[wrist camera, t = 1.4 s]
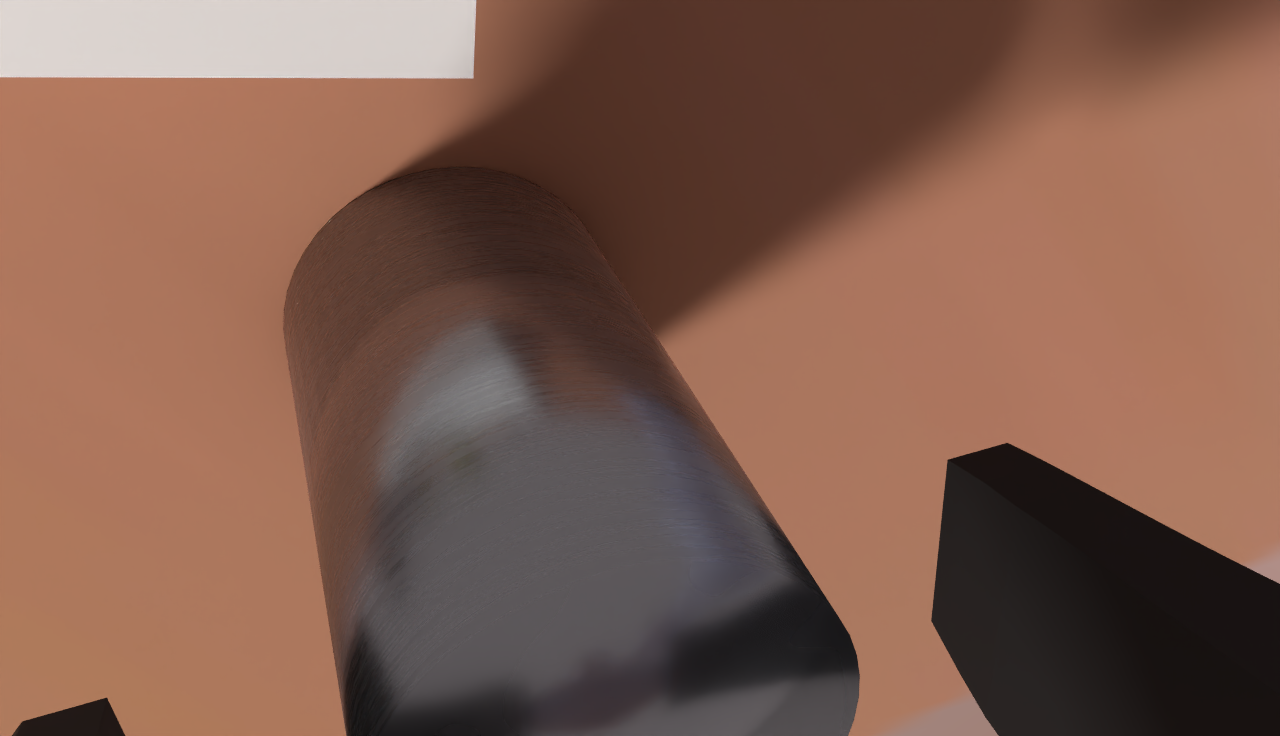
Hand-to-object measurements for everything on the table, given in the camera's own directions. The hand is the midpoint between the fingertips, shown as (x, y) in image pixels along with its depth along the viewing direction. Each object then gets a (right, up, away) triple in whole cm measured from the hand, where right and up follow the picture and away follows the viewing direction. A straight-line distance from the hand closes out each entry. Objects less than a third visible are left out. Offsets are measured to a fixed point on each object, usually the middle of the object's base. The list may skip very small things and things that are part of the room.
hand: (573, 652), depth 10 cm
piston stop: (-2, +3, +5) cm, 6 cm away
